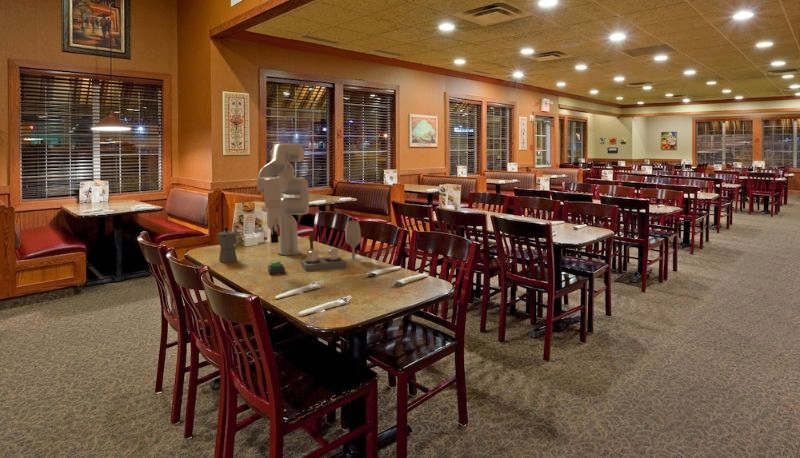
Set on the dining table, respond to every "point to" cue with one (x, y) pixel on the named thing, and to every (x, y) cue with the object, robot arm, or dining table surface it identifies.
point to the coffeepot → (227, 246)
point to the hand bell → (311, 238)
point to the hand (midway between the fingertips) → (274, 242)
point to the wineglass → (353, 238)
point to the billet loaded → (332, 255)
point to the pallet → (323, 264)
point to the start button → (275, 264)
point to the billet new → (312, 256)
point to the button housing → (276, 270)
